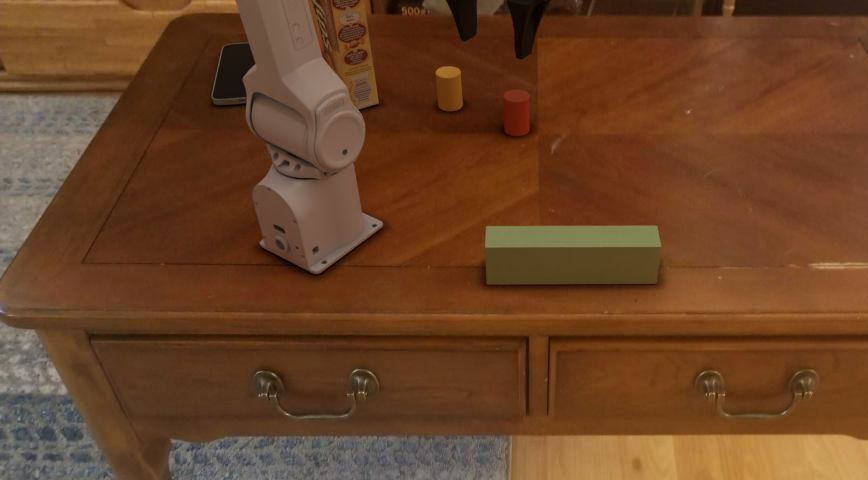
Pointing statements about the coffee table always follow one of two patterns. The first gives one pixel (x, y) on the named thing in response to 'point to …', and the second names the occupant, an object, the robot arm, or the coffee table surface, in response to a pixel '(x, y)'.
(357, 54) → the candy box
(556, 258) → the bar
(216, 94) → the smartphone
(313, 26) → the robot arm
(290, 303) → the coffee table surface
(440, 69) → the cylinders
